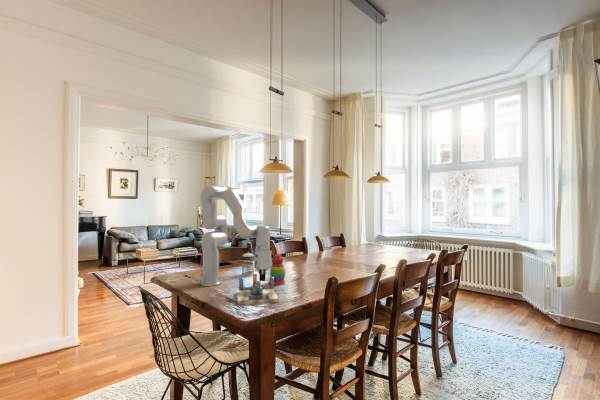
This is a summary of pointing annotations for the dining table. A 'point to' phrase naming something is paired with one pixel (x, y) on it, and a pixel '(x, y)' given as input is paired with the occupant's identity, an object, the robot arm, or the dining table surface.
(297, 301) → the dining table surface
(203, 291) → the dining table surface
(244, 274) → the french press
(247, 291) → the stand
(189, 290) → the dining table surface
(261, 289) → the capstan
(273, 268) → the stacking bear
